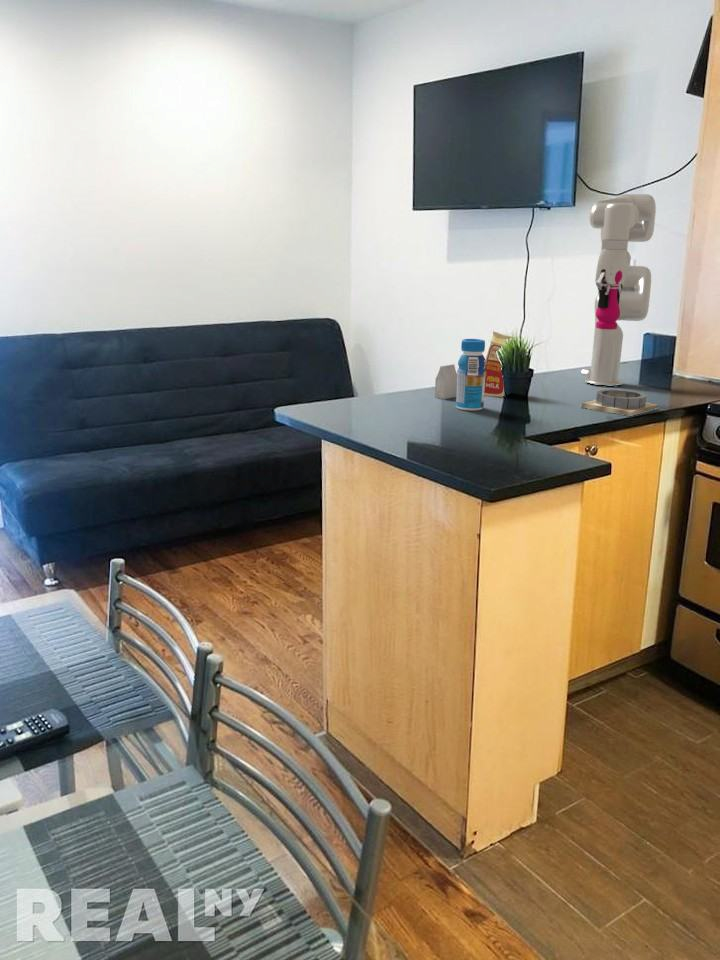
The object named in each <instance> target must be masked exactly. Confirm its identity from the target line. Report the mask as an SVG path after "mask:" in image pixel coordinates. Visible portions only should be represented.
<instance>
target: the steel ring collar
mask: <svg viewBox="0 0 720 960" xmlns="http://www.w3.org/2000/svg"><path fill="white" fill-rule="evenodd" d="M595 400H596V404H599V405H602V406H606V407H612V408H623V409H637V408H642V407H645V404H646V403H647V394H645V393H643V392H639V391H635V390H626V389H601V390H598V391H596V398H595Z"/></svg>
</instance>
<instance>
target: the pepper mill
mask: <svg viewBox="0 0 720 960" xmlns="http://www.w3.org/2000/svg"><path fill="white" fill-rule="evenodd" d="M621 279H622V272H621V271H618V272H617V273H616V276H615V282H616V284H613V285H610V289H609V293H608V295H609V303H608V308H598V307H597V310H596V317H597V319H598V320H599V321H598V322H596V328H598V329H617V324H618V322H617V321H616V320H617V319H618V318H619V317H620V308H619V305H618V301H617V291H618V289H619V285H620V284H618V283H619V282H620V281H621ZM604 284H607V283H606V282H604ZM605 289H606V287H605ZM616 322H617V323H616Z"/></svg>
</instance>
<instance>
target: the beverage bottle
mask: <svg viewBox="0 0 720 960" xmlns="http://www.w3.org/2000/svg"><path fill="white" fill-rule="evenodd" d="M460 347H461V352H463V353H462V354H461V355H460V357H459V359H458V362H457V365H458V368H457V370H456V373H457V396H456V397H455V398H456V399H455V407H456V409H458V410H462V411H471V412H472V411H473V412H474V411H480V410H483V409H484V407H485V396H484V390H485V377H486V370H485V366H486V357H485V356H484V353H485V351H486V348H485V347H486V340H484V339H479V338H463V339H461V346H460Z"/></svg>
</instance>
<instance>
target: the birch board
mask: <svg viewBox="0 0 720 960" xmlns="http://www.w3.org/2000/svg"><path fill="white" fill-rule="evenodd" d="M657 407H658V408H659V404H656V403H650V402H646V404H645V407H642V408H637V409H623V408H612V407H606V406H602V405H599V404H596V399H594V400H590V401H586V402H585V401H584V402H582V403H581V408H582V409H585V408H587V409H586V410H590V409H593V410H592V411H596V410H600V411H599V412H601V411H605V412H604V413H607V412H612V413H618V414H624V415H630V416H631V415H635V414H638V413H641V412H644V411H648V410H651V409H654V408H657ZM612 413H611V414H612ZM618 414H617V415H618Z"/></svg>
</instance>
